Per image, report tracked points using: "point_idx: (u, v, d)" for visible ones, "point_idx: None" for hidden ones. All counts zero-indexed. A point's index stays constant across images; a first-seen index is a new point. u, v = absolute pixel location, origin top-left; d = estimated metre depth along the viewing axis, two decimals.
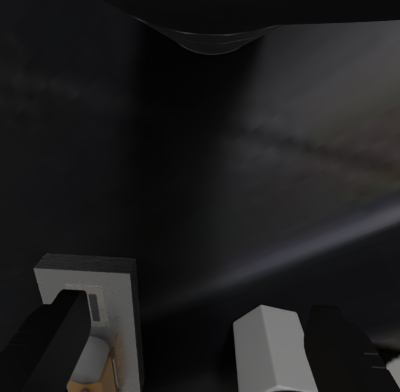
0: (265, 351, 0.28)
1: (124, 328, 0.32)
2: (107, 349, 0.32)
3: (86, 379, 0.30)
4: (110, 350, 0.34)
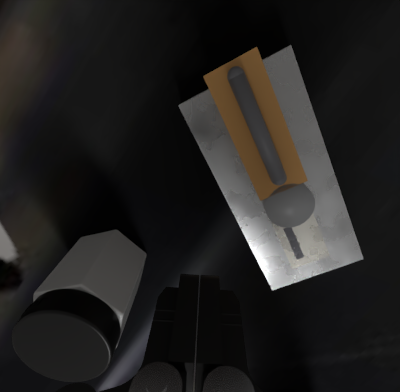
0: (127, 315, 0.29)
1: (253, 228, 0.28)
2: None
3: (281, 197, 0.22)
4: None
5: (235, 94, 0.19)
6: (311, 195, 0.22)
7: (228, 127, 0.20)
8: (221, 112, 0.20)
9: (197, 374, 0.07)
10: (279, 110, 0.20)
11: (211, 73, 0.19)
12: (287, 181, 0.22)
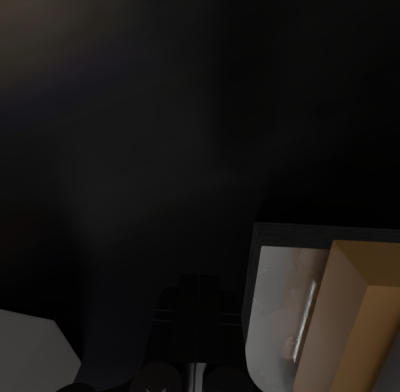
0: None
1: None
2: None
3: None
4: (292, 377, 0.17)
5: None
6: None
7: (343, 361, 0.11)
8: (351, 341, 0.11)
9: (197, 374, 0.07)
10: None
11: (384, 288, 0.10)
12: None
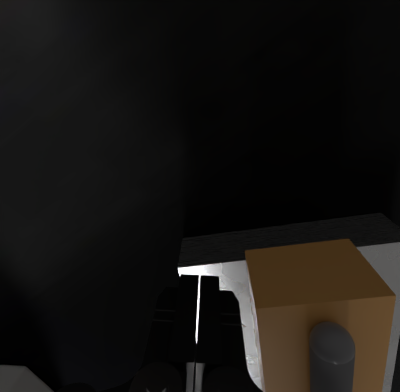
0: None
1: None
2: None
3: None
4: None
5: (316, 379, 0.08)
6: None
7: (268, 391, 0.10)
8: (266, 369, 0.09)
9: (197, 374, 0.07)
10: None
11: (276, 309, 0.08)
12: None
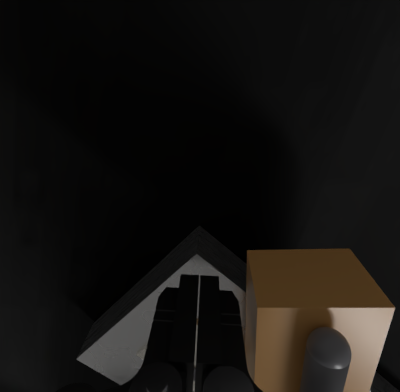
0: None
1: None
2: None
3: None
4: None
5: (309, 382, 0.08)
6: None
7: None
8: (258, 368, 0.09)
9: (197, 374, 0.07)
10: None
11: (277, 310, 0.08)
12: None
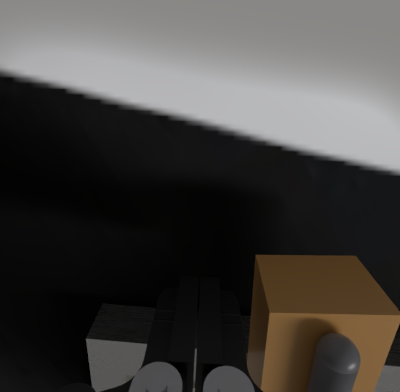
0: None
1: None
2: None
3: None
4: None
5: (317, 385, 0.09)
6: None
7: None
8: (266, 371, 0.10)
9: (197, 374, 0.07)
10: None
11: (288, 315, 0.09)
12: None
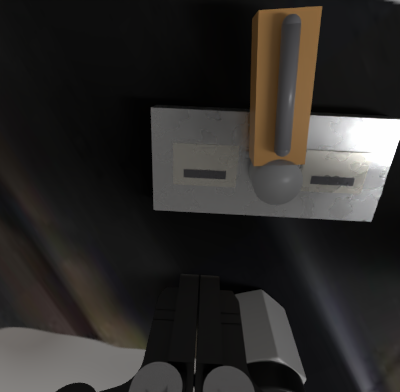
0: (293, 345, 0.31)
1: (291, 207, 0.27)
2: None
3: (274, 170, 0.22)
4: None
5: (282, 43, 0.18)
6: (301, 180, 0.22)
7: (258, 77, 0.19)
8: (258, 57, 0.19)
9: (197, 374, 0.07)
10: (312, 82, 0.19)
11: (268, 11, 0.18)
12: (286, 157, 0.22)
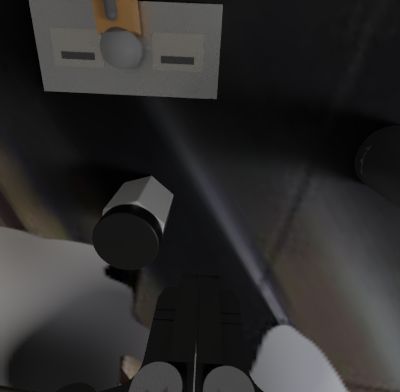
0: (165, 208, 0.38)
1: (152, 86, 0.35)
2: None
3: (113, 36, 0.29)
4: None
5: None
6: (135, 45, 0.29)
7: None
8: None
9: (197, 374, 0.07)
10: None
11: None
12: (120, 24, 0.29)
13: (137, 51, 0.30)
